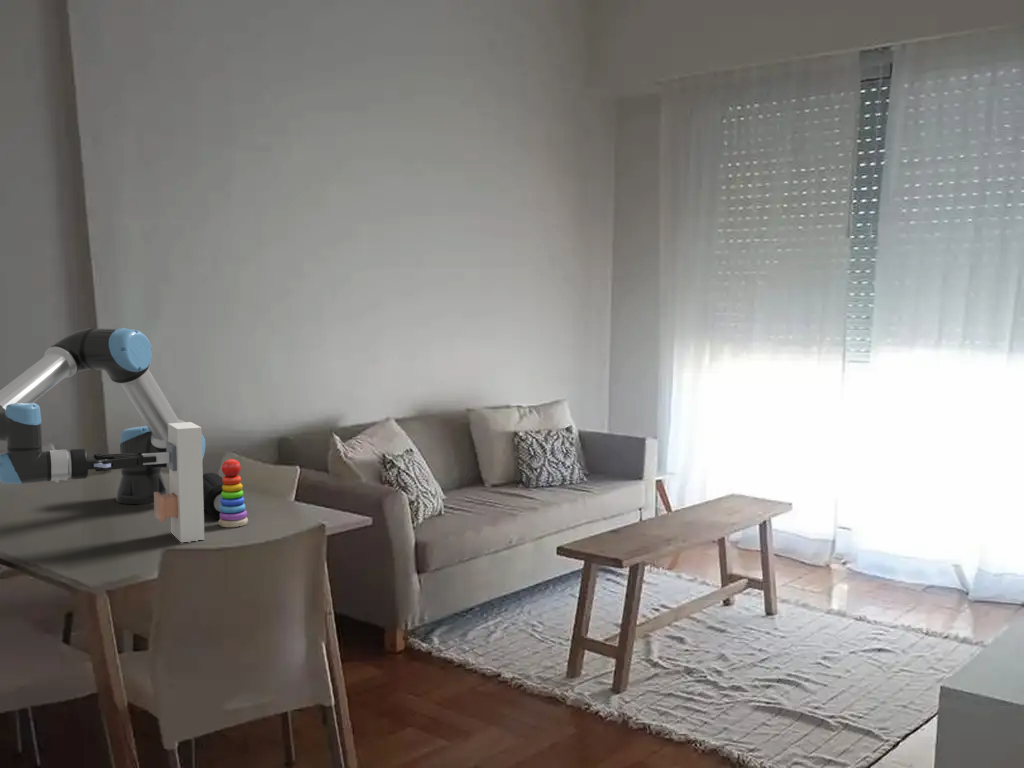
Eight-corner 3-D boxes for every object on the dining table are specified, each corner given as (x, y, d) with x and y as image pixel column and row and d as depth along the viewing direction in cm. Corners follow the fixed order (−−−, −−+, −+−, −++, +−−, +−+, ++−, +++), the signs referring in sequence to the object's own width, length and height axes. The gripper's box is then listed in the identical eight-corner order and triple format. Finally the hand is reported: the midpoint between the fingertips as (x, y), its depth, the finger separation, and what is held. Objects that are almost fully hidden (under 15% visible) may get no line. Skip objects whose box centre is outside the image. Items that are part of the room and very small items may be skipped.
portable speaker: (242, 519, 267) (241, 485, 266) (207, 522, 263) (206, 488, 262) (224, 501, 290) (223, 470, 289) (191, 504, 285) (190, 472, 284)
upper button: (166, 466, 246) (166, 442, 245) (193, 464, 250) (193, 440, 249) (172, 471, 240) (172, 446, 239) (200, 468, 243) (200, 444, 243)
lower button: (154, 515, 245) (153, 492, 245) (181, 512, 249) (181, 489, 249) (160, 521, 239) (159, 497, 238) (188, 518, 243) (187, 494, 242)
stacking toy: (217, 522, 262) (216, 457, 260) (246, 520, 265) (245, 455, 263) (219, 529, 255) (217, 462, 253) (249, 526, 258) (247, 460, 256)
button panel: (171, 533, 250) (167, 423, 247) (193, 530, 253) (190, 421, 251) (180, 543, 240) (177, 429, 237) (204, 540, 243) (201, 427, 240)
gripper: (67, 475, 236) (164, 467, 248) (72, 483, 225) (173, 475, 237) (66, 446, 236) (164, 440, 248) (71, 453, 224) (173, 446, 236)
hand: (168, 457), depth 242 cm, fingers closed
